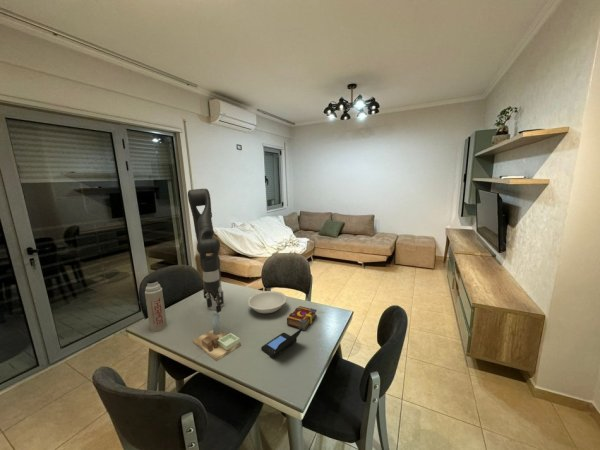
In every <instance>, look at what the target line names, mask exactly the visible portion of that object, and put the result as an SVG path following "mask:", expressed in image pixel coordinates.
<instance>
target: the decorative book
mask: <svg viewBox="0 0 600 450" xmlns="http://www.w3.org/2000/svg"><path fill="white" fill-rule="evenodd" d="M317 311H318V310H317V309H314V308H308V307H305V306H298V307H296V308H295V309H294V311H292V312H291V313H289V315H288V316H287V317H286V325H287V326H290V327H294V328H296V329H298V330H300V329H302V331H306V329H307V328H308V327H309V325H311V324H312V323H313V321H314V320H315V319H316V318H317V314H316V313H317Z"/></svg>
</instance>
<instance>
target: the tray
mask: <svg viewBox="0 0 600 450" xmlns="http://www.w3.org/2000/svg"><path fill="white" fill-rule="evenodd" d="M240 338H241V337H238V336H237V335H235V334H233V333H232V332H230V333H228V334H227V335H226V336H224V337H222V338H221V339H219V340H218V345H219V346H220V347H222V348H223V349H225V350H226V351H228V350H230V349H231V348H233V347H234V346H236V345H238V344H239V343H241V341H240Z"/></svg>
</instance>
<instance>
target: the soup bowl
mask: <svg viewBox="0 0 600 450" xmlns="http://www.w3.org/2000/svg"><path fill="white" fill-rule="evenodd" d="M287 301H288V298H287V296H286V295H285V294H284V293H282V292H279V291H276V290H268V291H261V292H257V293H254V294H252V295H251V296H250V297H249V298H247V302H246V303H247V305H248V307H250V309H252V310H253V311H255V312H257V313H259V314H272V313H275V312H276V311H278V310H280V309H281V308H282V307H283V306H284V305H285V304H286V302H287Z"/></svg>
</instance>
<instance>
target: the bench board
mask: <svg viewBox="0 0 600 450" xmlns="http://www.w3.org/2000/svg"><path fill="white" fill-rule="evenodd" d="M211 334H213V329H212V330H209V331H207V332H205V333H203V334H202V335H200V336H198V337H196V338H194V339H192V343H193V344H194V345H196V347H198V348H199V349H201V350H202V352H204V353H206V354H207V355H208V356H209V357H211V358H212V359H213V360H215V362H217V361H219V360H220V359H222V358H223V357H225V356H226V355H229V354H230V353H231V352H233V351H235V350H236V349H238V348H240V347H241V342H240V343H239V344H238V345H236V346H234V347H233V348H231V349H230V350H228V351H226V350H225V349H223V348H222V347H220V346H219V345H218V339H214V340H213V344H212V342H209V343H208V349H206V348H205V347H204V346H202V339H204V338H205V337H207V336H209V335H211ZM226 335H228V334H227V333H225V332H223V331H222V330H220V334H219V335H216V336H218V337H219V339H221V338H222V337H224V336H226ZM213 345H214V346H213Z"/></svg>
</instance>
